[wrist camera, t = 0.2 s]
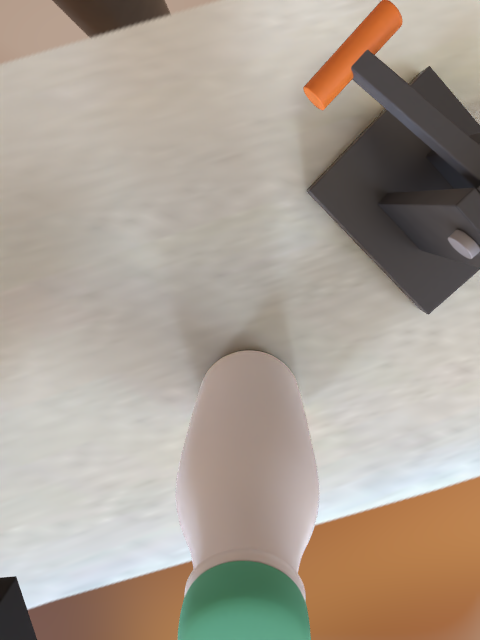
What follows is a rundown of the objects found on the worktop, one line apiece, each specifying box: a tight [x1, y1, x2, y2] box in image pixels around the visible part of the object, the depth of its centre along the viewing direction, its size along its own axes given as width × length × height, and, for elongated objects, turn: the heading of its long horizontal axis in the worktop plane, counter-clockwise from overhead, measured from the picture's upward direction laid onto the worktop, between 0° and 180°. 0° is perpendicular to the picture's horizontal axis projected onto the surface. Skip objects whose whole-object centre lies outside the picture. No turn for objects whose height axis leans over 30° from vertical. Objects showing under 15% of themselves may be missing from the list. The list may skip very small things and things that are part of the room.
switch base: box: [307, 66, 480, 314], centre depth 23 cm, size 12×10×13 cm
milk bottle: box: [176, 350, 319, 640], centre depth 24 cm, size 8×8×20 cm
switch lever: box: [303, 0, 480, 193], centre depth 20 cm, size 12×5×2 cm, turn 46°
